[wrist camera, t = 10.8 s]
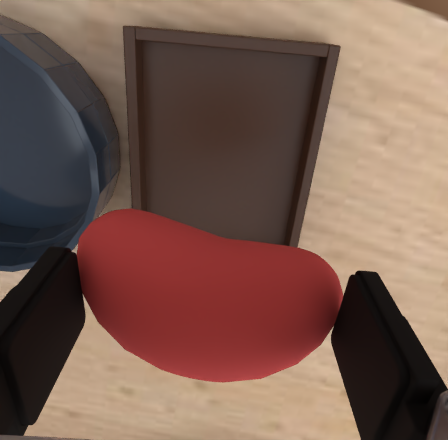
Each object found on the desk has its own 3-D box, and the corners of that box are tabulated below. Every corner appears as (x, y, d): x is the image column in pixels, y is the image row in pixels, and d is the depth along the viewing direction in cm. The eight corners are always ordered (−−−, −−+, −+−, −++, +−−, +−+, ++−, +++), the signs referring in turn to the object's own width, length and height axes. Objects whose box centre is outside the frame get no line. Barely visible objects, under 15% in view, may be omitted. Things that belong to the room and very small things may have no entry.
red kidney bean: (245, 322, 18) (333, 413, 13) (53, 310, 13) (63, 446, 8) (278, 226, 17) (386, 279, 12) (87, 180, 13) (122, 233, 7)
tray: (141, 244, 27) (134, 260, 25) (133, 25, 20) (122, 25, 18) (287, 255, 27) (292, 273, 25) (330, 43, 20) (341, 45, 18)
